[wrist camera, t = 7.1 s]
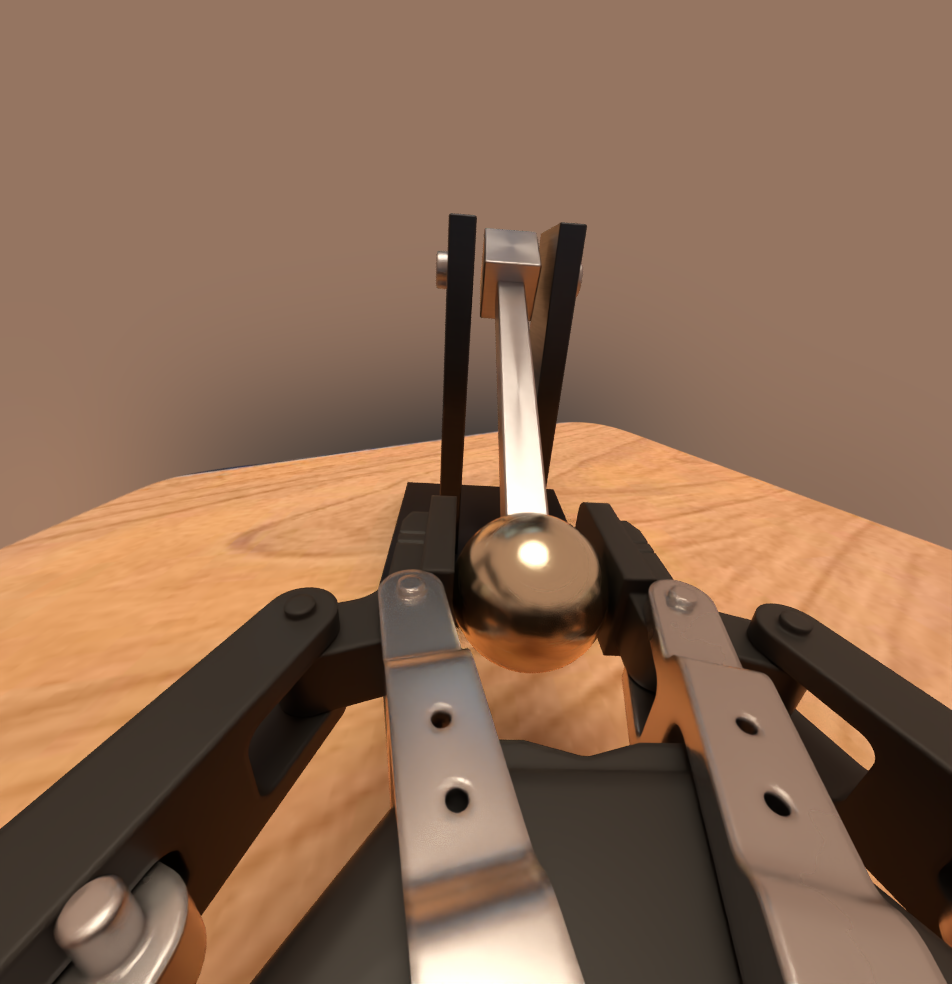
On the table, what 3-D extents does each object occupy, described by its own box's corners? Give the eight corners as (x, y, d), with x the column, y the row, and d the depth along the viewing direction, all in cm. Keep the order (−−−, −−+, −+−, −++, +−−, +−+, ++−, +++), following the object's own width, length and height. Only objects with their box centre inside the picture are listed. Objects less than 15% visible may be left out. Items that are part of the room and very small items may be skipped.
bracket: (599, 631, 19) (708, 216, 12) (375, 624, 19) (352, 186, 12) (551, 504, 30) (594, 244, 23) (407, 497, 29) (406, 230, 22)
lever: (593, 690, 10) (653, 650, 8) (446, 687, 10) (448, 643, 7) (539, 300, 20) (556, 216, 17) (464, 294, 20) (468, 209, 17)
